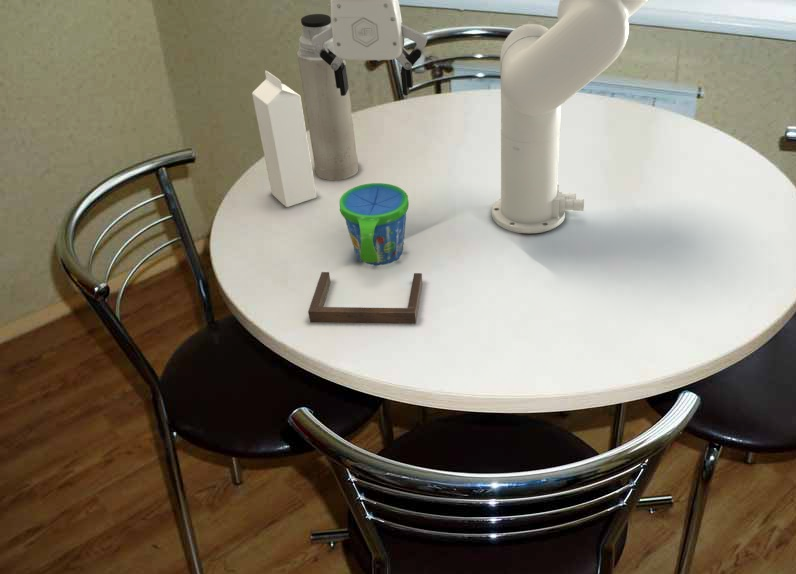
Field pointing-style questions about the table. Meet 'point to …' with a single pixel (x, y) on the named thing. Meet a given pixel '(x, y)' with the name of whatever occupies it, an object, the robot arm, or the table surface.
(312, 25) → the thermos bottle
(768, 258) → the table surface
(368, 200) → the snack cup
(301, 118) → the milk
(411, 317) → the bay
